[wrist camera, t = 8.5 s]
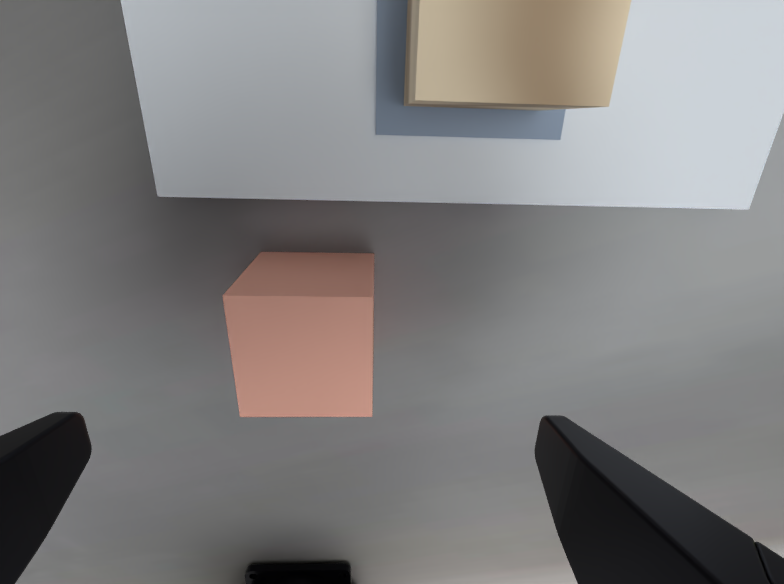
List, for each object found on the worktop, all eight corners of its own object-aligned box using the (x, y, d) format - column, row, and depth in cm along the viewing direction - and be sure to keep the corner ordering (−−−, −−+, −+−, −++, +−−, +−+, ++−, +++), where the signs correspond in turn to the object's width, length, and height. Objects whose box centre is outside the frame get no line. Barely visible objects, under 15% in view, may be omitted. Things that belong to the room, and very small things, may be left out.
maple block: (403, 105, 15) (415, 100, 10) (409, -67, 13) (427, -168, 9) (538, 110, 15) (608, 106, 11) (564, -59, 13) (663, -153, 9)
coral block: (271, 349, 20) (239, 417, 16) (261, 251, 18) (222, 295, 14) (373, 349, 20) (372, 416, 16) (374, 252, 19) (373, 297, 14)
